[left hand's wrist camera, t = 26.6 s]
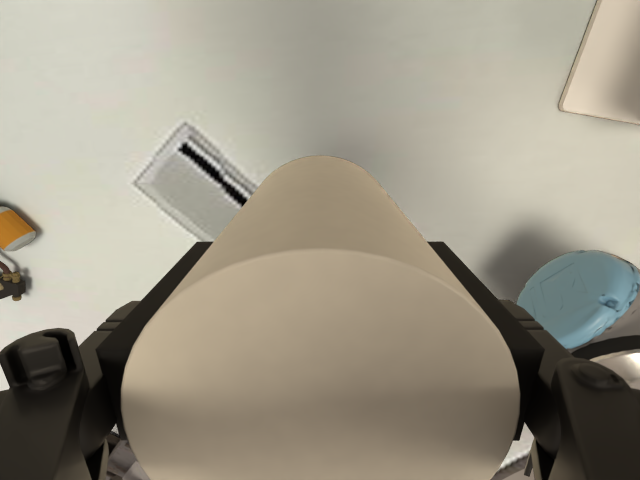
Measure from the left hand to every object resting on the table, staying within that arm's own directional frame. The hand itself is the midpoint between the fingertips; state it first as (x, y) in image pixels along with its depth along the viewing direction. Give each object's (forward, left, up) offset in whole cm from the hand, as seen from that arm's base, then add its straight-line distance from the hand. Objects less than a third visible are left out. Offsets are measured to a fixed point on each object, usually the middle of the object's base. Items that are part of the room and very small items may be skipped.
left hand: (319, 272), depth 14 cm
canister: (0, 0, -6) cm, 6 cm away
